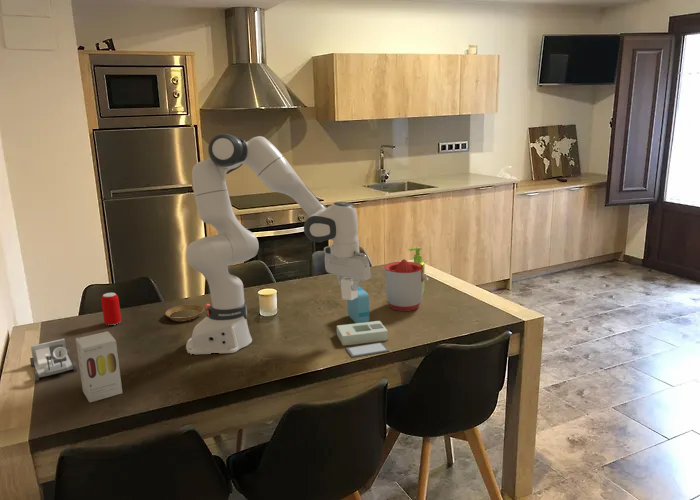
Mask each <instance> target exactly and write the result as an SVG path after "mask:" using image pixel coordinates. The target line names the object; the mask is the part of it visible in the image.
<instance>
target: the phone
mask: <svg viewBox="0 0 700 500" xmlns="http://www.w3.org/2000/svg"><path fill="white" fill-rule="evenodd" d="M345 350H346V352H347V353H348V354H349V356H350V357H351V358H352V359H354V358H359V357H365V356H370V355H375V354H376V355H377V354H383V353H389V352H390V350H389V348H388V347H387V346H385V344H384V343H383V341H380V342H374V343H371V344H370V343H369V344H368V343H367V344H363V345H356V346H351V347H345Z"/></svg>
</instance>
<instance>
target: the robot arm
mask: <svg viewBox="0 0 700 500" xmlns="http://www.w3.org/2000/svg"><path fill="white" fill-rule="evenodd" d="M207 152H208V156H209V157H208V158H207V159H206V160H201V161H199V162H197V163H196V164H194V165H193V167H192V170H191V180H192V189H193V195H194V198H195V199H194V200H195V204H196V208H197V213H198V217H199V218H200V220H201V221H202V222H203V223H205V224H208V225H209V226H210V225H211V226H212V227H214V229H215V230H216V232H217V234H215V235H209V236H204V237H201V238H198V239H196V240H194V241H192V242H190V243H189V244H188V246H187V248H186V260H187V262H188V264H189V266H190V267H191V268H192V269H193V270H195V271H197V272H199V273H200V274H201V275H203V278H205V280H206V281H207V284H208V287H209V292H210V299H211V301H210V302H211V304H210V303H206V304H205V305H204V310H205V311H206V312H205V313H206V316H205V317H204V318H203V319H202V320H201V321H199V322H198V323H197V324H196V325H194V328H193V329H192V333H191V337H190V338H189V339H188V340H187V341H186V344H185V350H187V351H186V352H187V354H189V353H190V354H189V355H192V354H194V355H211V353H219V354H234V353H236V352H237V351H239V350H242V349H243V348H245V347H247V346H249V345H250V344H251V343H252V342H253V338H252V336H251V333H250V329H249V326H248V320H247V317H248V310H247V303H246V302H245V292H244V291H245V289H244V284H243V281H242V280H241V279H240V277H238V276H236V275H234V274H230V272H229V266H233V265H237V264H241V263H244V262H247V261H249V260H250V259H252V258H253V259H254V257H256V256H257V255H258V252H259V248H260V247H259V245H260V244H259V240H258V238H257V236H256V235H255V233H253V232H252V231H250V230H249V229H247V228H246V227H245V226H244V225H242V223H241V222H240V221H239V220H238V218H237V216H236V214H235V213H234V209H233V206H232V202H231V199H230V195H229V191H228V190H229V189H228V186H227V180H226V177H227V176H226V175H227V174H230V173H232V172H233V171H235V170H237V169H239V168H240V167H242V166H243V165H245V166H247V167H249V168H250V169H251V170H252V171H253V172H254V173H255V175H256V176H257V177H258V178H259V180H260V181H261V183H262V184H264V185H265V186H266V187H267V188H268V189H269V190H271V191H272V192H275V193H279V194H284V195H287V196H289V197H290V198H292V199H293V200H294V201H295V202H296V203H297V204H298V205H299V207H300V208H301V209H302V210H303V211H304V212H305V213H306V214H307V216H308V218H307V219H306V220H305V222H304V223H303V232H304V235H305V237H307V239H308V240H310V241H311V242H314V243H322V242H325V241H327V242H328V241H329V240H332V245H329V246H325V247H324V248H323V252H324V254H325V255H324V267H325V268H324V269H325V271H326V272H327V273H329V274H333V275H336V279H337V281H338V285H339V288H341V279H343V278H345V277H348V278H351V279H352V281H353V285H351V290H352V291H357V290H358V288H357V286H359V283H360V282H365V281H368V280H370V279H371V277H372V273H371V268H370V267H371V266H370V262H369V259H368V257H367V255H366V254H365V253H363V252H360V239H359V236H358V231H359V222H358V220H359V219H358V214H357V213H358V212H357V209H356V207H355V206H354V205H353V204H352V203H349V202H344V201H336V202H333V203H332V204H331V205H330V206H327V205H325V204H323V203H322V202H321V201H320V200H319V198H317V197H316V195H315V194H314V193H313V192H312V191H311V190H310V189H309V187H308V186H307V185H306V184H305V183H304V182H303V180H302V179H301V178H300V177H299V175H298V174H297V173H296V171H295V169H294V168H293V167H292V165H291V164H290V163H289V161H288V160H287V159H286V157H285V156H284V154H283V153H282V152H281V151H280V150H279V149H278V148H277V147H276V146H275V145H274V144H273V143H272V142H271V141H270V140H268V139H267V138H266V137H265V136H261V135H259V136H254V137H252V138H250V139H249V140H247V141H246V140H244V139H242V138H240V137H238V136H235V135H233V134H229V133H219V134H217V135H215V136H214V137H212V139H211V140H210V141H209V144H208V147H207Z"/></svg>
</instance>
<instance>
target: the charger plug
mask: <svg viewBox="0 0 700 500" xmlns="http://www.w3.org/2000/svg"><path fill="white" fill-rule="evenodd" d="M351 285H353V281H352V279H351V278H348V277H343V279H341V287H340V289H341V291H340V292H341V300H346V301H348V300H353V299H355V298H357V297H358V293H357V291H352V290H351Z"/></svg>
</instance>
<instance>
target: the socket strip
mask: <svg viewBox="0 0 700 500" xmlns="http://www.w3.org/2000/svg"><path fill="white" fill-rule="evenodd" d="M336 336H337V338H338V339H339V341H340V343H341V345H342V346H352V345H361V344H368V343H369V344H370V343H379V342H385V341H389V340H388V339H389V337H388V336H389V331H388V329H387V328H386V327H385V325H383V323H382V321H381V320H375V321H369V322H364V323H355V322H354V323H349V324H341V325H340V324H339V325H336Z"/></svg>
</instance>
